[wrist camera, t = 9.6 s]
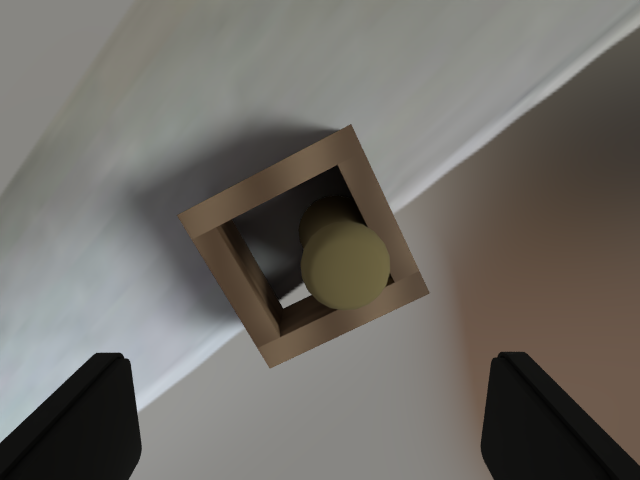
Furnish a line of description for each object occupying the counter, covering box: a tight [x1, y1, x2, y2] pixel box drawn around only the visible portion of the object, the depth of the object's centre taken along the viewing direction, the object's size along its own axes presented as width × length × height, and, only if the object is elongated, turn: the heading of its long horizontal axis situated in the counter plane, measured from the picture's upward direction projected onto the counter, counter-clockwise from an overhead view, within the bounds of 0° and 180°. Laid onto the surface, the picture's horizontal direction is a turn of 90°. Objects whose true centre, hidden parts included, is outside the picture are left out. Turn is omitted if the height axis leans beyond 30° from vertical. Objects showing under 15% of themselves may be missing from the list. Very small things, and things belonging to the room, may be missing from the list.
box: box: [177, 124, 429, 368], centre depth 28 cm, size 12×12×7 cm
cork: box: [299, 195, 390, 310], centre depth 26 cm, size 6×6×11 cm
